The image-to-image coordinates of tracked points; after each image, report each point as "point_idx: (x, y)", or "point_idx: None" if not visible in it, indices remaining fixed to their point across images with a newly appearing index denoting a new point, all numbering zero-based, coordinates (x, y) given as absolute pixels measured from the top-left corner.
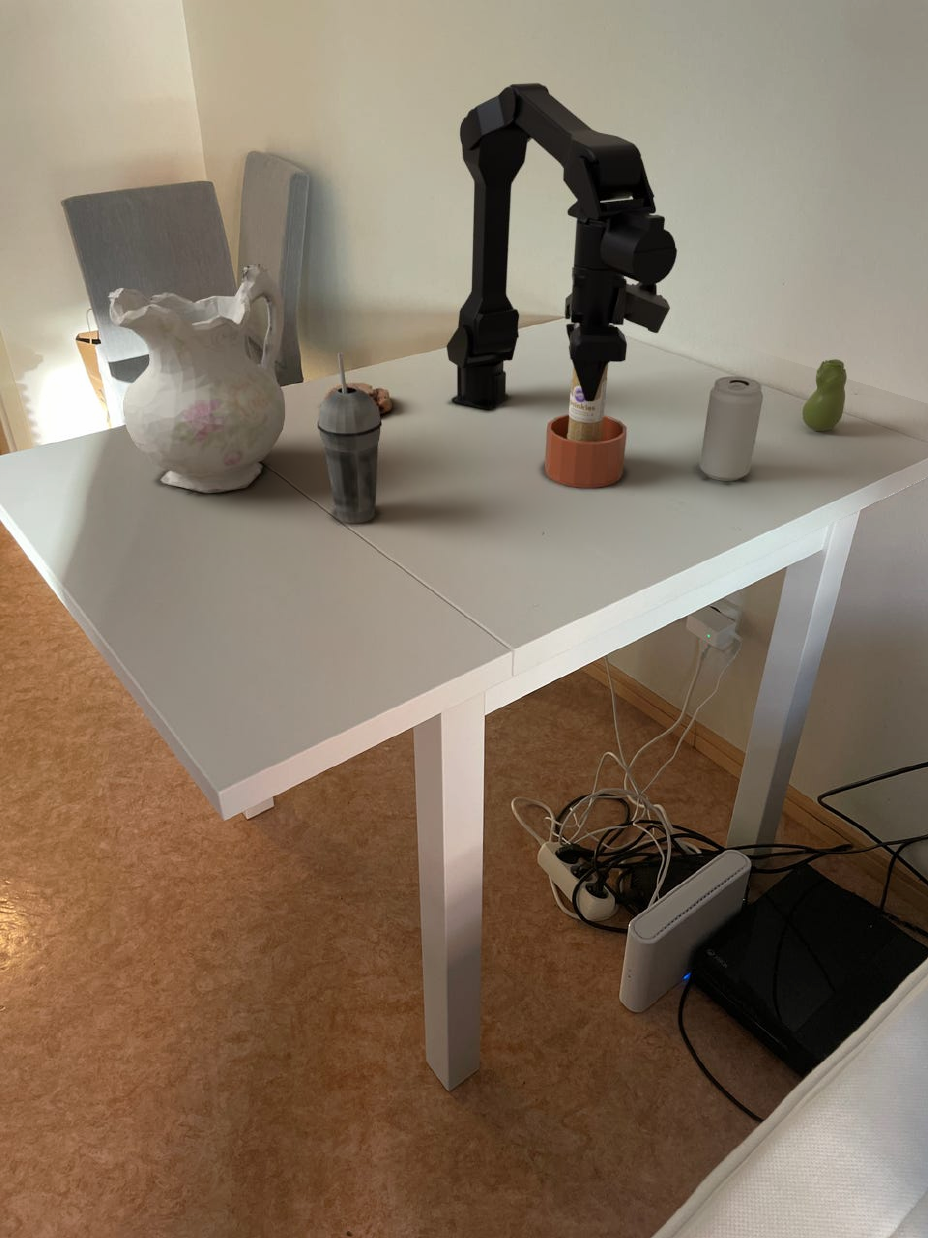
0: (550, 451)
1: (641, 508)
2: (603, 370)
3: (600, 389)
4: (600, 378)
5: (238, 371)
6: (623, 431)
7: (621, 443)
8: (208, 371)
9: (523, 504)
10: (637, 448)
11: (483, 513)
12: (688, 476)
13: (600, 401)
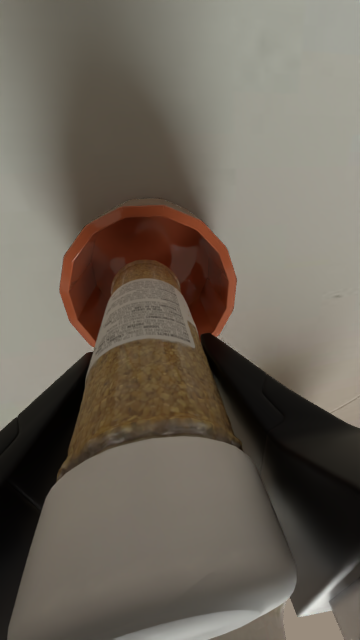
0: None
1: (283, 153)
2: (305, 401)
3: (191, 336)
4: (265, 376)
5: (261, 619)
6: (154, 214)
7: (189, 214)
8: (281, 629)
9: (262, 327)
10: (5, 166)
11: (282, 358)
12: (118, 5)
13: (183, 311)
